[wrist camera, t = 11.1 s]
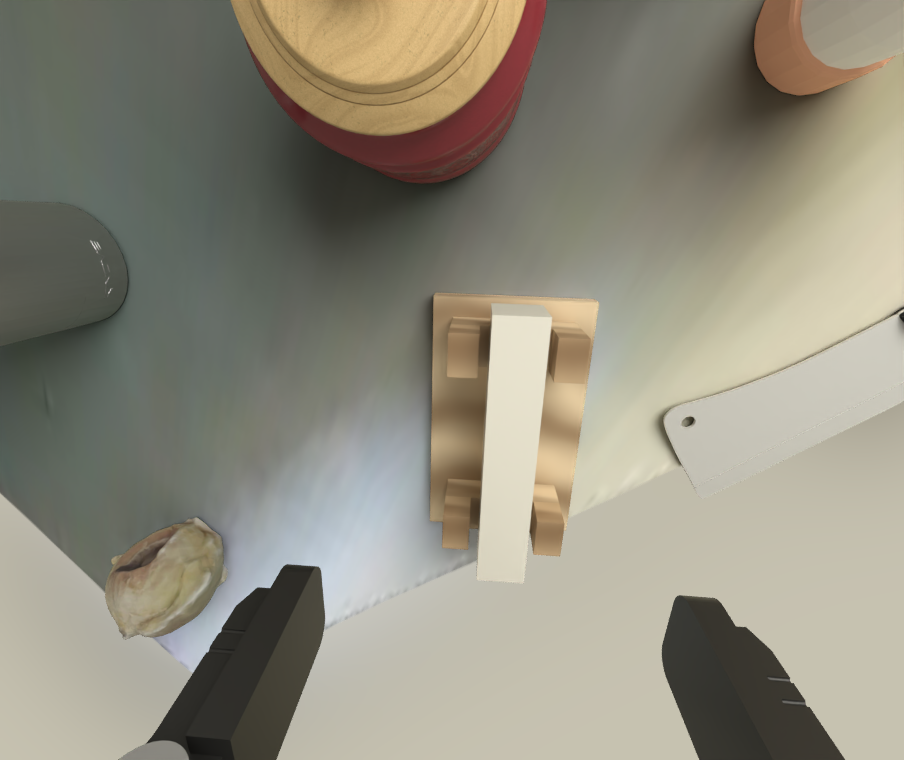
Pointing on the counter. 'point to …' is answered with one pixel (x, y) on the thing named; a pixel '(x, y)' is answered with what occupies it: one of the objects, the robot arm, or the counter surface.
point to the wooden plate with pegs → (463, 412)
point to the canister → (397, 75)
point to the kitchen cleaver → (789, 408)
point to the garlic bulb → (165, 579)
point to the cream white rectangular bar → (511, 437)
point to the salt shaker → (825, 41)
